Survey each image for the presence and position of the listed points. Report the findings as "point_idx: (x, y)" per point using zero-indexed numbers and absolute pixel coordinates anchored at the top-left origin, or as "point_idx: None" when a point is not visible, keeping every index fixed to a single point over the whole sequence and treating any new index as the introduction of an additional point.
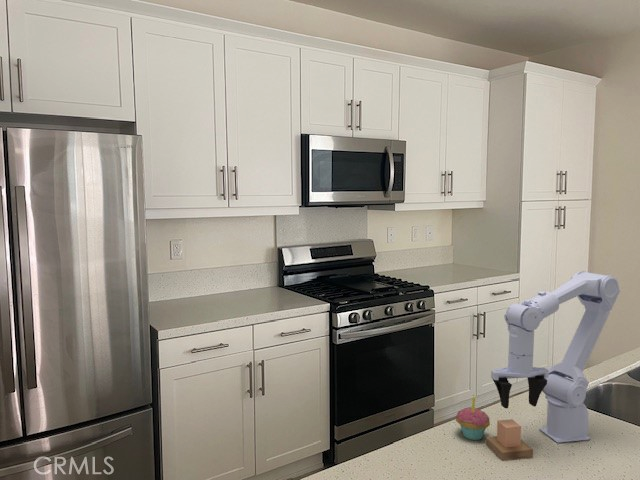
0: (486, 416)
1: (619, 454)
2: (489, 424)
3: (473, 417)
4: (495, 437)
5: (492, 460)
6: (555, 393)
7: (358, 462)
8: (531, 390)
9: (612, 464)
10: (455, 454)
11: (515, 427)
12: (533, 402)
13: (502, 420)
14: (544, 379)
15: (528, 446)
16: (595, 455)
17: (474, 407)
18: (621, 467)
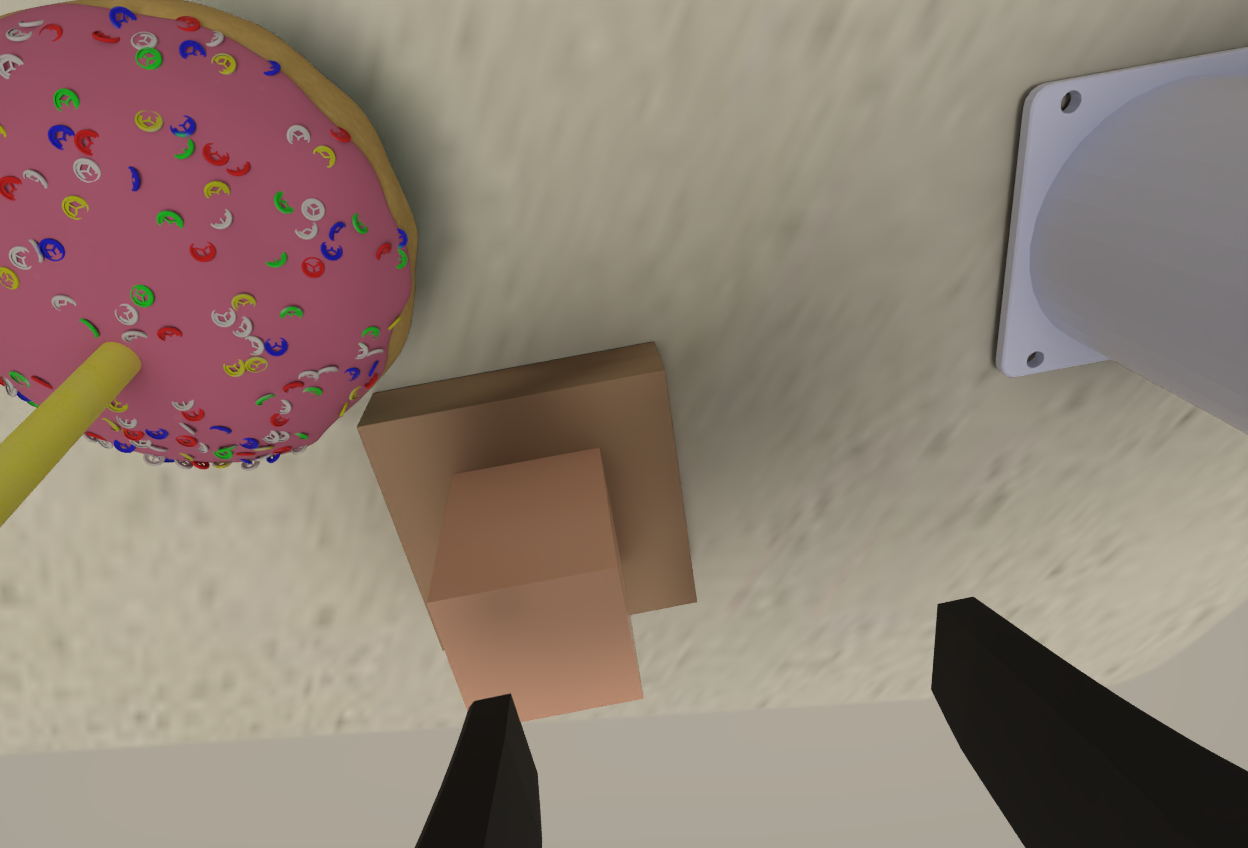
0: (346, 361)
1: None
2: (403, 345)
3: (142, 436)
4: (451, 431)
5: (379, 603)
6: None
7: None
8: (1100, 833)
9: (1120, 610)
10: (87, 541)
11: (581, 704)
12: (963, 728)
13: (489, 599)
14: None
15: (682, 566)
16: (1117, 522)
17: (93, 420)
18: (1139, 634)
